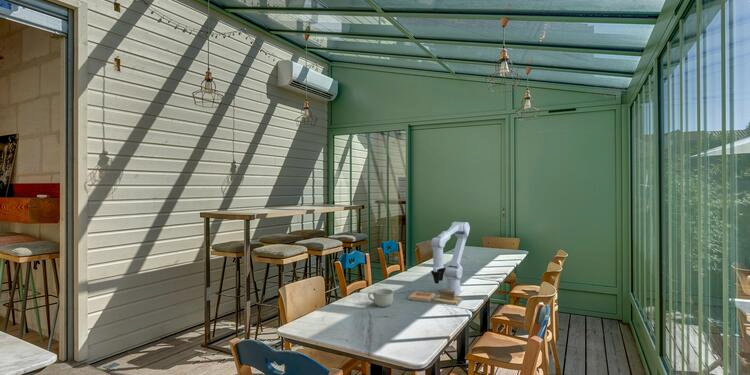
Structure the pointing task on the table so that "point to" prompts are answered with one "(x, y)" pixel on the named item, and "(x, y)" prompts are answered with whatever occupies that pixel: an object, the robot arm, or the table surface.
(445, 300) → the oak lid
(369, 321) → the table surface
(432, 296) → the terracotta dish
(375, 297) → the teacup
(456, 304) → the rubber mat
